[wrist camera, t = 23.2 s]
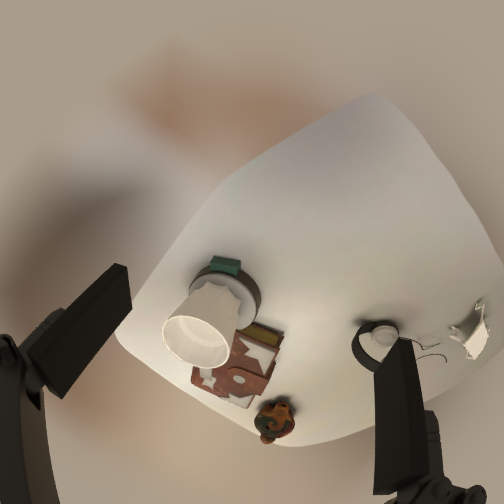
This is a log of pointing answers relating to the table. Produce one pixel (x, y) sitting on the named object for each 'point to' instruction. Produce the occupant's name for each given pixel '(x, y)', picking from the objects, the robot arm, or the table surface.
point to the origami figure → (474, 337)
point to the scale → (232, 286)
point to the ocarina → (274, 422)
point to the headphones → (376, 342)
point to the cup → (203, 327)
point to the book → (242, 367)
